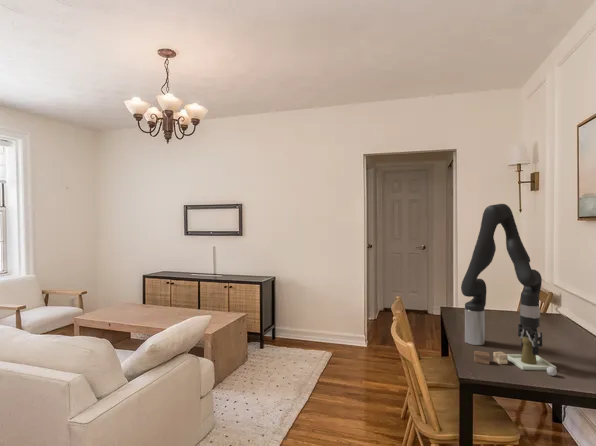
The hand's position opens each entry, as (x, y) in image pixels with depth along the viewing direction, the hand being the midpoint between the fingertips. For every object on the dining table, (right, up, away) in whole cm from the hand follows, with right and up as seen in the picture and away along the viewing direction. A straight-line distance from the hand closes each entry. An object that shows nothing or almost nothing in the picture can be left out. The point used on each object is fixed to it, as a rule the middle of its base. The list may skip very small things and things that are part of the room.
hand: (529, 351), depth 164 cm
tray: (0, -6, 0) cm, 6 cm away
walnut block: (-20, -6, +3) cm, 21 cm away
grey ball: (+2, -4, -12) cm, 13 cm away
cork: (0, -5, +1) cm, 5 cm away
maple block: (-12, -6, +2) cm, 13 cm away
